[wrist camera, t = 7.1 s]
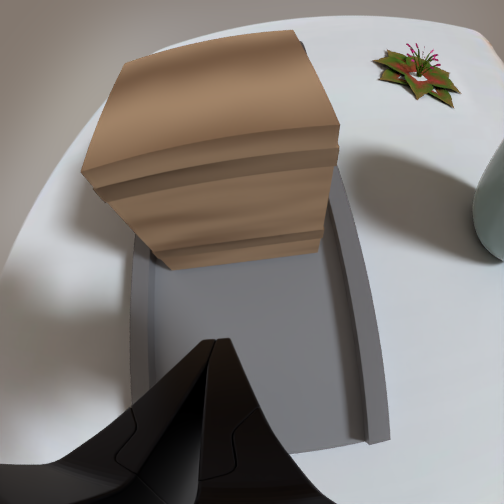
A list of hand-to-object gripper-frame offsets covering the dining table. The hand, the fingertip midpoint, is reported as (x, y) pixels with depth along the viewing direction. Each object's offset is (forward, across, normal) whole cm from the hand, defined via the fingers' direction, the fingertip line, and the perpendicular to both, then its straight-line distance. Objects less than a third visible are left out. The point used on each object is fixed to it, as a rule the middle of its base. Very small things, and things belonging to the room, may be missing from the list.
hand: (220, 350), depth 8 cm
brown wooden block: (+12, 0, -2) cm, 13 cm away
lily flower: (+26, -22, -12) cm, 36 cm away
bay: (+10, 0, +2) cm, 11 cm away
